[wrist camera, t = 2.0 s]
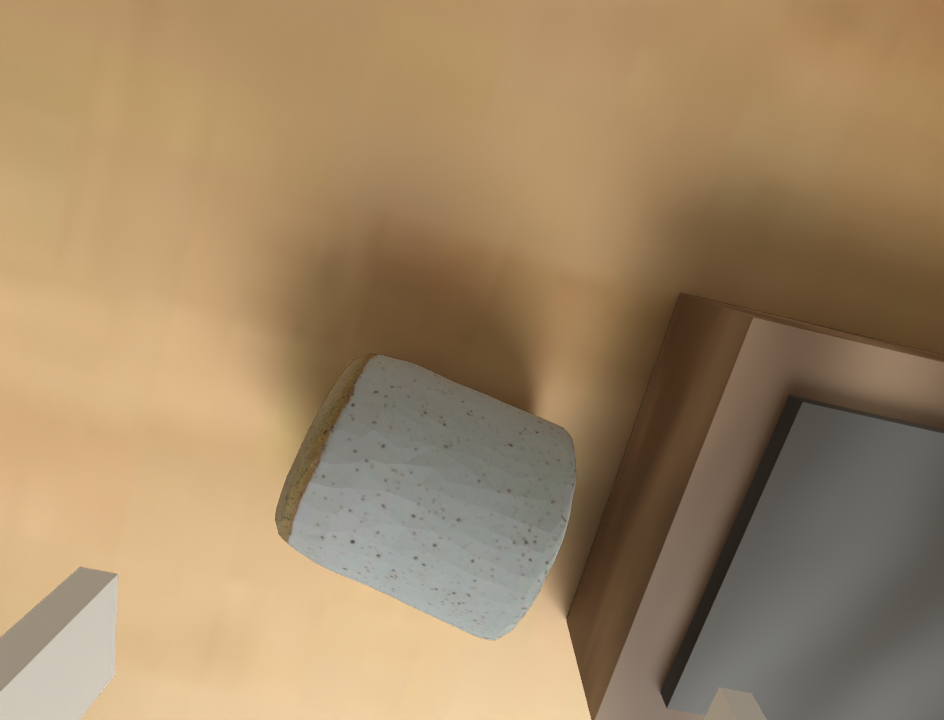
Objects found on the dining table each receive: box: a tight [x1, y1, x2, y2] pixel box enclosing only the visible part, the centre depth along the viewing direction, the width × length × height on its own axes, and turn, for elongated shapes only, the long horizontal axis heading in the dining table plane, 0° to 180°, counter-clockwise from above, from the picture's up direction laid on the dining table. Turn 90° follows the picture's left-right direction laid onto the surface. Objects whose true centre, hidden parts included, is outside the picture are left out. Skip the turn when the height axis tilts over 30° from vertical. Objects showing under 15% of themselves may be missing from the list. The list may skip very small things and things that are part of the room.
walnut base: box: [566, 293, 944, 720], centre depth 19 cm, size 16×16×6 cm
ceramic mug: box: [275, 354, 576, 640], centre depth 17 cm, size 11×8×8 cm
